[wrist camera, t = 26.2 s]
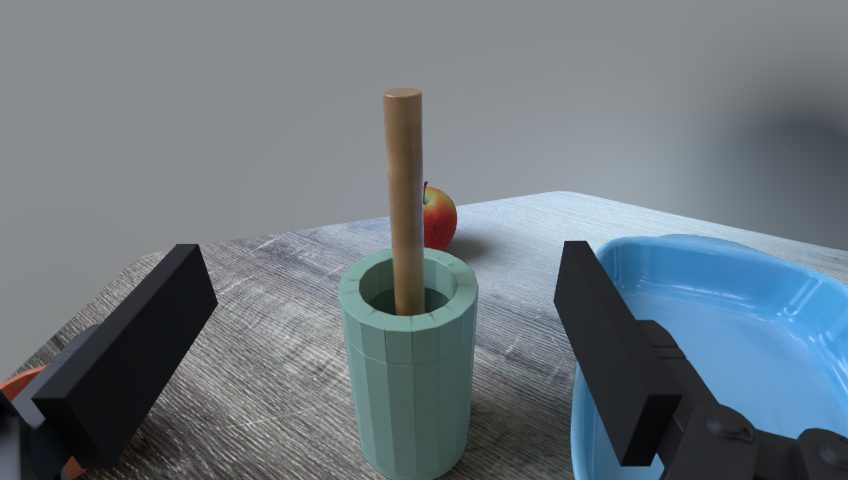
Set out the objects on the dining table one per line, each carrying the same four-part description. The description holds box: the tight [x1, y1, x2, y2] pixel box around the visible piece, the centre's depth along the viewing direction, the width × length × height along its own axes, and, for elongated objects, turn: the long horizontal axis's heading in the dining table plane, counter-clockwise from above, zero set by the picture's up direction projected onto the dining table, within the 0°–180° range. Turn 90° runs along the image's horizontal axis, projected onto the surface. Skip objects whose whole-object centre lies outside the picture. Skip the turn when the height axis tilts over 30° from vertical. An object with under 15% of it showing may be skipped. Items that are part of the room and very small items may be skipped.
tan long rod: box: [383, 88, 425, 316], centre depth 26 cm, size 4×4×24 cm
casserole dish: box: [570, 234, 848, 480], centre depth 30 cm, size 37×22×7 cm, turn 159°
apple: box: [423, 182, 457, 251], centre depth 52 cm, size 8×8×10 cm
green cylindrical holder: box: [338, 247, 478, 480], centre depth 29 cm, size 8×8×14 cm
